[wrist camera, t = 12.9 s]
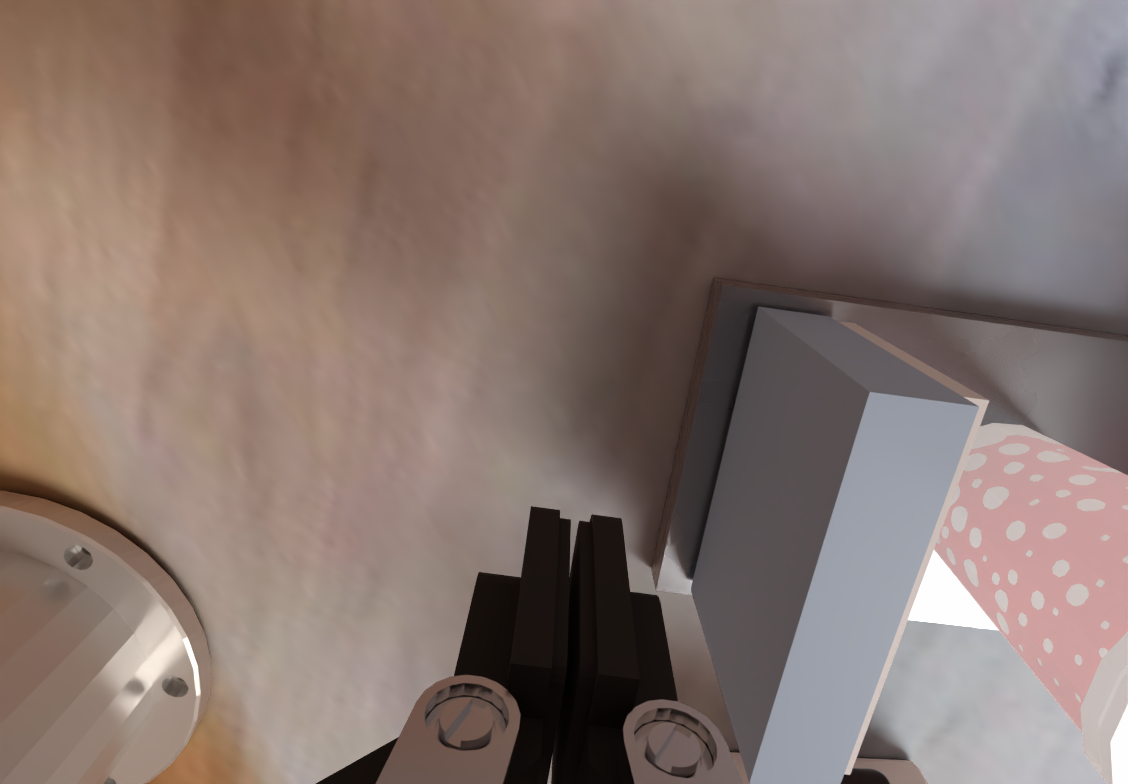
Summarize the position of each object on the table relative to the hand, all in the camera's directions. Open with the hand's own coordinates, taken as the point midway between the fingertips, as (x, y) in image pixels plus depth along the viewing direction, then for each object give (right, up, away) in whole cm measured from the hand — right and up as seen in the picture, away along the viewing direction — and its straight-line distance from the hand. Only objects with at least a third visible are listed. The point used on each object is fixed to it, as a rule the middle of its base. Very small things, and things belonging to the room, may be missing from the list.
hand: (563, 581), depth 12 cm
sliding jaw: (+6, +1, +8) cm, 10 cm away
